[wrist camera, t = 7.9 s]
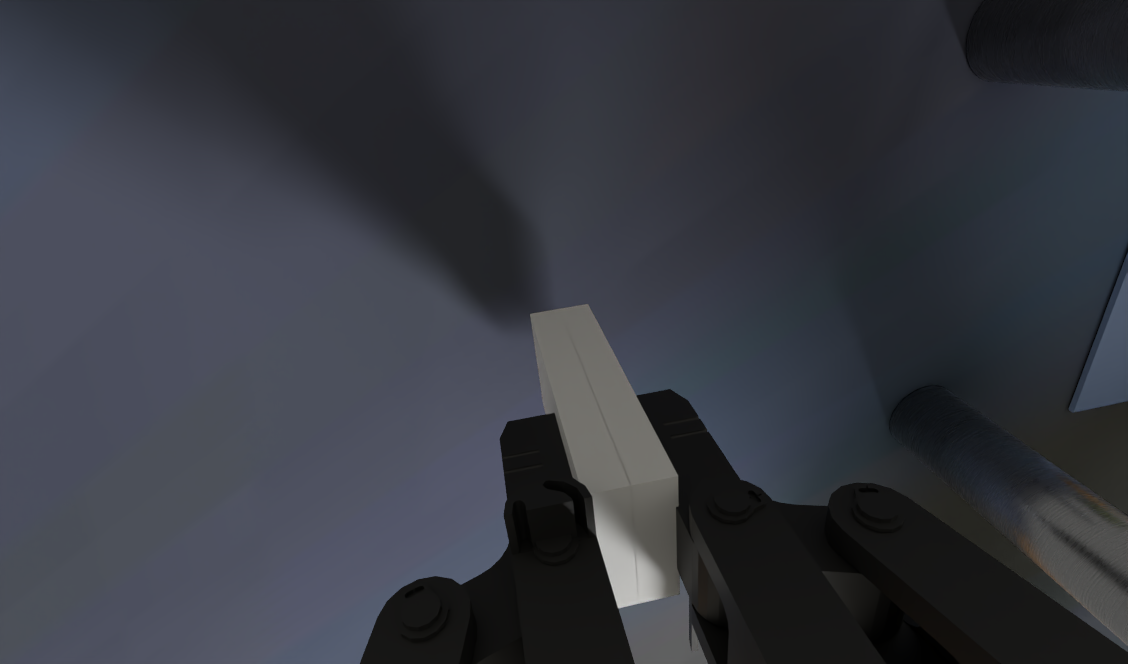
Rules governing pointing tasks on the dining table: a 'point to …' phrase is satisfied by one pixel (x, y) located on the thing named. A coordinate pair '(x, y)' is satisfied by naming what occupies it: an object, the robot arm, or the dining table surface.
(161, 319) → the dining table surface
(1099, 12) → the outer post
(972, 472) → the inner post
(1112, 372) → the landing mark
